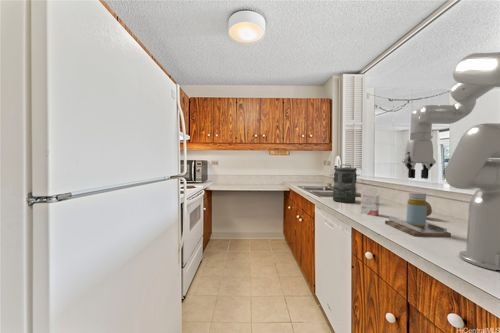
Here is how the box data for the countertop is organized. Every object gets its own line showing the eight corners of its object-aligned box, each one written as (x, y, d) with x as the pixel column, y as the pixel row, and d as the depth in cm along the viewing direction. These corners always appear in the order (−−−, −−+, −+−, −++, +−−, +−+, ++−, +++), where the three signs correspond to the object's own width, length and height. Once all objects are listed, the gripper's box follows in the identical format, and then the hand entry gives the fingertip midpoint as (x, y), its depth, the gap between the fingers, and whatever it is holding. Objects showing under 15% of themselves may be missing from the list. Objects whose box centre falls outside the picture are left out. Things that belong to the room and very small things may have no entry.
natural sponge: (407, 216, 128) (407, 198, 128) (417, 215, 131) (418, 198, 131) (424, 220, 120) (425, 201, 119) (434, 219, 123) (435, 201, 122)
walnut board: (450, 236, 93) (450, 233, 93) (413, 235, 92) (413, 232, 92) (416, 224, 111) (416, 221, 111) (384, 223, 110) (385, 220, 110)
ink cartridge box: (378, 214, 128) (380, 189, 128) (375, 216, 125) (377, 189, 125) (363, 212, 135) (364, 187, 134) (359, 213, 132) (361, 188, 131)
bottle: (409, 222, 106) (411, 191, 106) (427, 226, 100) (429, 193, 100) (403, 224, 102) (405, 192, 101) (422, 229, 96) (424, 194, 96)
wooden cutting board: (446, 233, 93) (447, 228, 93) (417, 232, 92) (418, 228, 92) (413, 221, 111) (413, 217, 110) (388, 220, 110) (388, 216, 110)
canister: (355, 200, 174) (357, 164, 173) (355, 204, 160) (357, 165, 159) (333, 198, 181) (335, 164, 180) (331, 201, 166) (333, 164, 166)
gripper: (431, 139, 104) (429, 178, 105) (395, 137, 103) (393, 177, 104) (446, 137, 97) (443, 179, 97) (408, 136, 96) (405, 178, 96)
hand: (418, 177), depth 101 cm, fingers open, 5 cm apart
